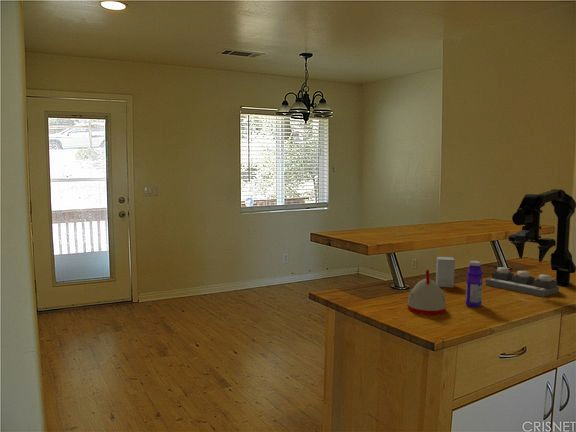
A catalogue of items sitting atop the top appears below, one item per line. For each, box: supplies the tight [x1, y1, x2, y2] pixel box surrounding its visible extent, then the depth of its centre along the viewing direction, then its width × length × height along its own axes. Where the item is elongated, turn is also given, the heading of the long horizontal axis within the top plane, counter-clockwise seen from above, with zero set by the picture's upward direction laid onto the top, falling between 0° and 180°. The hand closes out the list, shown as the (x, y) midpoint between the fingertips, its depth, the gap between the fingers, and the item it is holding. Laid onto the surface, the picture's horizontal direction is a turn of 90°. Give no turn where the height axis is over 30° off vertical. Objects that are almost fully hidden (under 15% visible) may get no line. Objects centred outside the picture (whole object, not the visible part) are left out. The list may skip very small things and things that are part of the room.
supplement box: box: [435, 256, 456, 288], centre depth 222 cm, size 7×7×13 cm
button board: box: [485, 271, 560, 298], centre depth 218 cm, size 14×26×5 cm, turn 38°
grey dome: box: [407, 269, 447, 316], centre depth 185 cm, size 14×14×15 cm
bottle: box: [465, 260, 484, 308], centre depth 190 cm, size 7×6×17 cm
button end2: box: [538, 273, 553, 283], centre depth 211 cm, size 5×5×2 cm
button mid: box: [516, 270, 531, 279], centre depth 218 cm, size 5×5×2 cm
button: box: [496, 266, 510, 275], centre depth 226 cm, size 5×5×2 cm
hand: (530, 260), depth 209 cm, fingers open, 9 cm apart
